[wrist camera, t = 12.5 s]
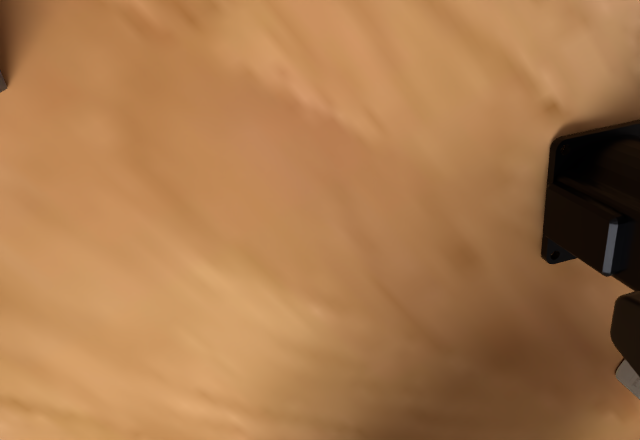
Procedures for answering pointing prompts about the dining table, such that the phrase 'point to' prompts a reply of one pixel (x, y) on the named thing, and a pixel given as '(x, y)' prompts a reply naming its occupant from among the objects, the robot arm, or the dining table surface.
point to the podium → (2, 83)
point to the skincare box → (629, 378)
